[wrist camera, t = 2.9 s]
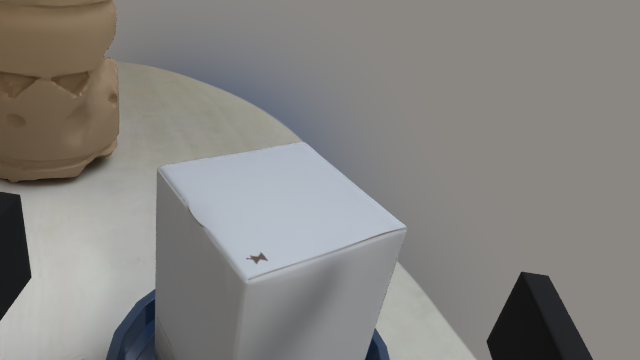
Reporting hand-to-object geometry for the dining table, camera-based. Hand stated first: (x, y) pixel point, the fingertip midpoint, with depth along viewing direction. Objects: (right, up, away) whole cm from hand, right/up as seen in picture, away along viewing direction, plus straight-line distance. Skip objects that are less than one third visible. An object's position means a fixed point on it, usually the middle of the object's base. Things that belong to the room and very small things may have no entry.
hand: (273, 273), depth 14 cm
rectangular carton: (-3, -11, +18) cm, 21 cm away
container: (-25, +5, +37) cm, 45 cm away
